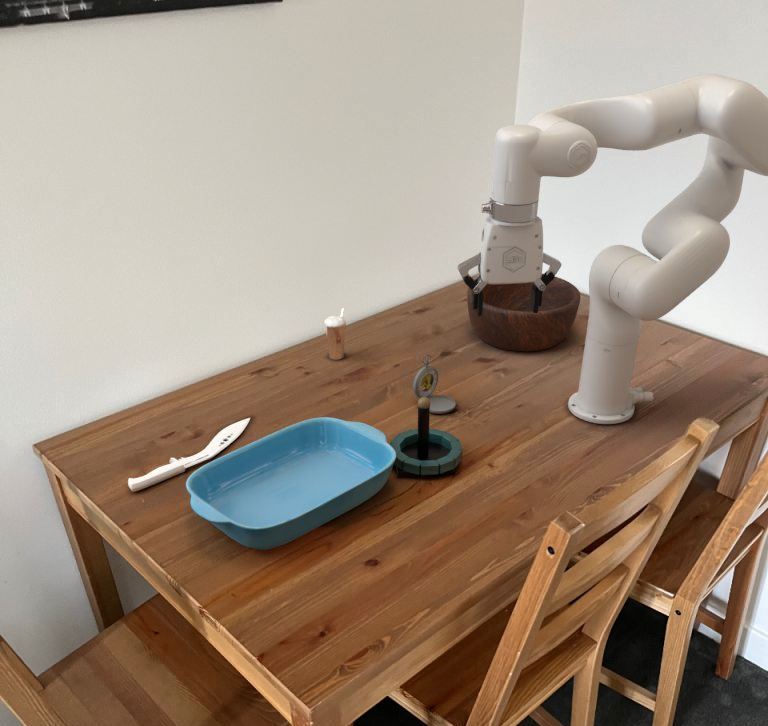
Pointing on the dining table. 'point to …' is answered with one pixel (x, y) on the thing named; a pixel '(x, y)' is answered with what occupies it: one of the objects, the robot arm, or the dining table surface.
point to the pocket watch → (431, 389)
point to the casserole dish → (291, 480)
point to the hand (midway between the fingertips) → (505, 311)
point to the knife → (189, 458)
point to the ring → (429, 465)
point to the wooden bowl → (525, 315)
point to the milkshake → (335, 336)
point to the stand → (424, 443)
